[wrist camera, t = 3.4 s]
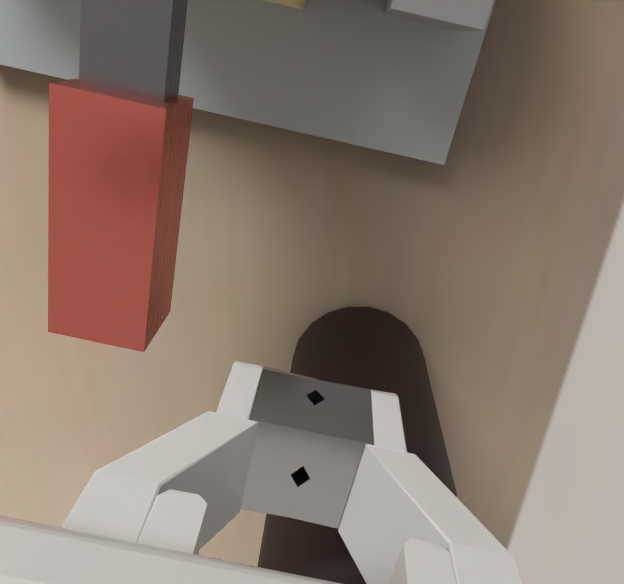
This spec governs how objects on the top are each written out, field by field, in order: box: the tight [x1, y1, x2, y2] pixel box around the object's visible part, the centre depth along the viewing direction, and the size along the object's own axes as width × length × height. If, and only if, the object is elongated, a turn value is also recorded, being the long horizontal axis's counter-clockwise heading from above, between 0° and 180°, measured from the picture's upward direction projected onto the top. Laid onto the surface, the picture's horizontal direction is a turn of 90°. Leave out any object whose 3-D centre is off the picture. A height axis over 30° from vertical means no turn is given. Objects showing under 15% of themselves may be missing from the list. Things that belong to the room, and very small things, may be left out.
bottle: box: [258, 307, 457, 584], centre depth 20 cm, size 7×7×20 cm
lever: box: [48, 0, 194, 352], centre depth 13 cm, size 4×14×2 cm, turn 168°
